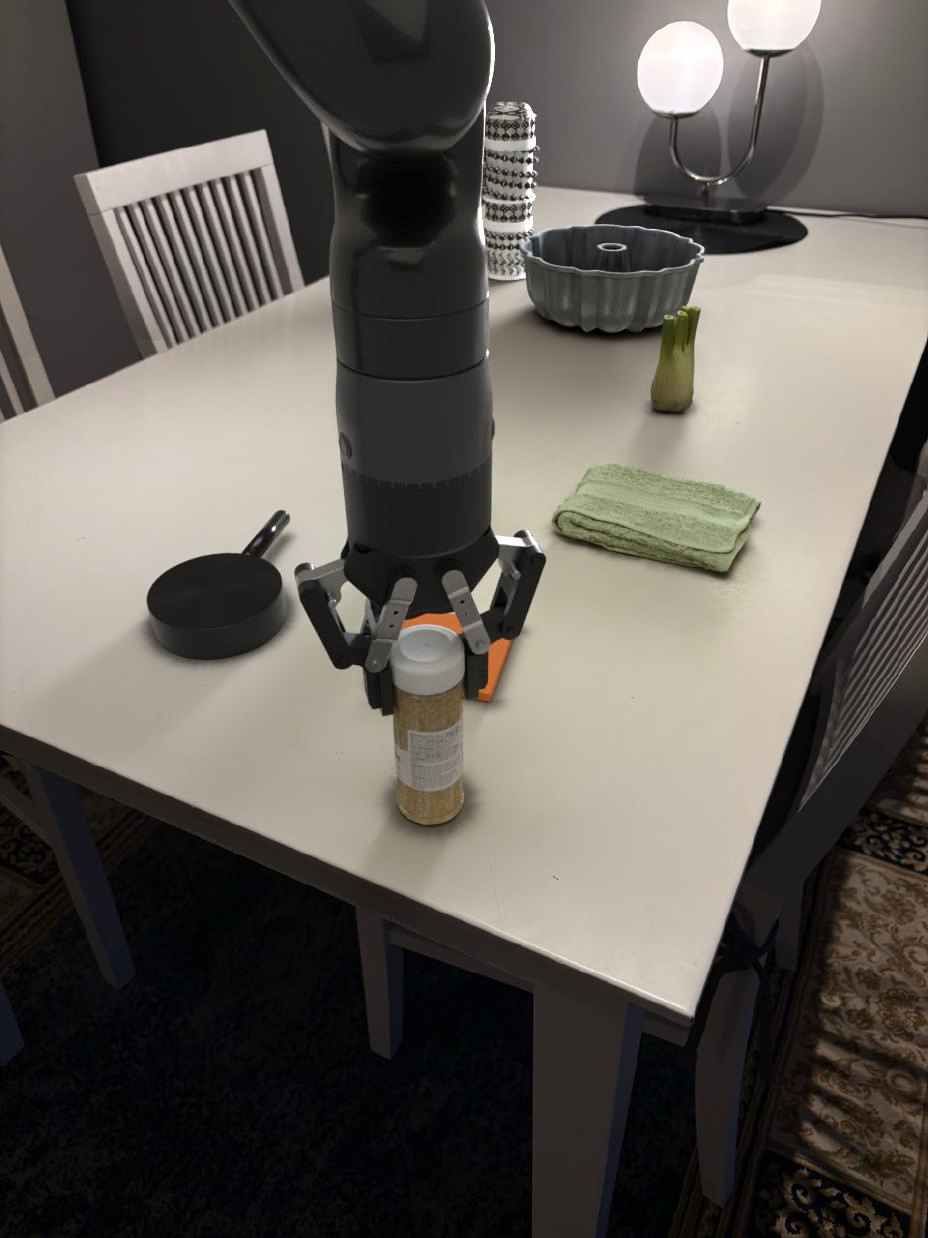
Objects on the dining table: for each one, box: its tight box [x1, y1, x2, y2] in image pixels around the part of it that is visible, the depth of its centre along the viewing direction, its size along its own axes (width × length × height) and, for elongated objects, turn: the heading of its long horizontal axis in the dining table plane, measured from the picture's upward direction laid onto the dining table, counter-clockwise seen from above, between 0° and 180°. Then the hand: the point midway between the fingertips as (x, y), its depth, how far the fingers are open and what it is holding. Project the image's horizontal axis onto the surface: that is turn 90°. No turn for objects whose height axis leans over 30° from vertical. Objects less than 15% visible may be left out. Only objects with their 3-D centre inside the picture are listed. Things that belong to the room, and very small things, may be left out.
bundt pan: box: [520, 224, 705, 334], centre depth 133 cm, size 26×26×10 cm
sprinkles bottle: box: [388, 624, 465, 826], centre depth 56 cm, size 5×5×14 cm
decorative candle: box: [482, 101, 540, 281], centre depth 146 cm, size 9×9×25 cm
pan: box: [146, 509, 291, 660], centre depth 79 cm, size 11×19×3 cm, turn 165°
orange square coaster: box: [401, 613, 513, 702], centre depth 72 cm, size 9×9×1 cm
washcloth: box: [550, 462, 762, 573], centre depth 87 cm, size 13×18×3 cm
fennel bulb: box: [650, 305, 702, 413], centre depth 106 cm, size 6×5×12 cm
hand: (426, 697), depth 55 cm, fingers closed on sprinkles bottle, 4 cm apart
